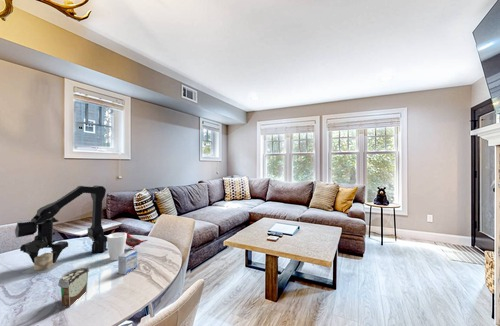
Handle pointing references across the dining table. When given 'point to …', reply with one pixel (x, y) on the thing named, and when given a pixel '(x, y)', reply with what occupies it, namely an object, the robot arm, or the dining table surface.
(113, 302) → the dining table surface
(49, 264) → the maple block
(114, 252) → the foam cup
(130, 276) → the dining table surface
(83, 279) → the food container
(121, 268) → the medicine box
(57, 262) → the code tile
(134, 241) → the decorative bird figurine
